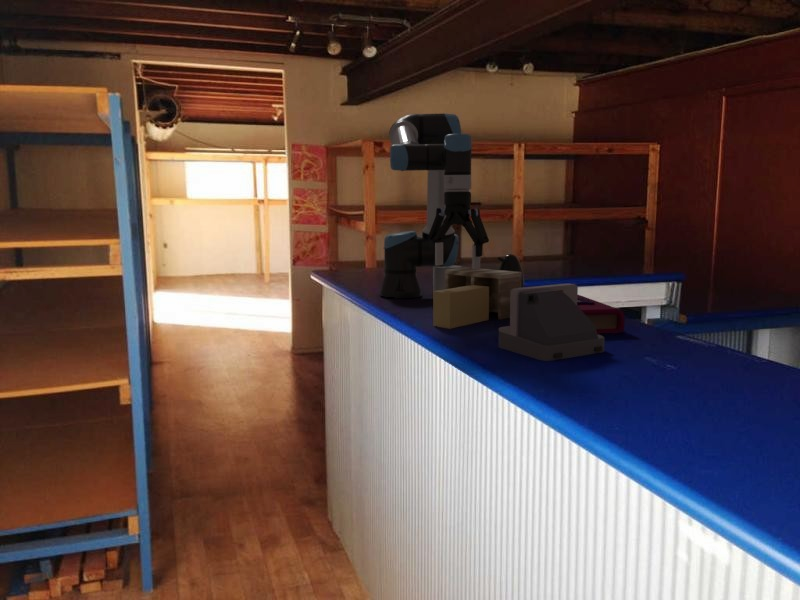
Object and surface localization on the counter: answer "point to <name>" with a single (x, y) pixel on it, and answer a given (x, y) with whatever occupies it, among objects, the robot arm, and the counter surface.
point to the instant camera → (549, 324)
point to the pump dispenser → (511, 265)
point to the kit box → (460, 306)
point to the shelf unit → (494, 279)
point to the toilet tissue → (441, 276)
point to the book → (602, 315)
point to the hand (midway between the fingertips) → (457, 266)
